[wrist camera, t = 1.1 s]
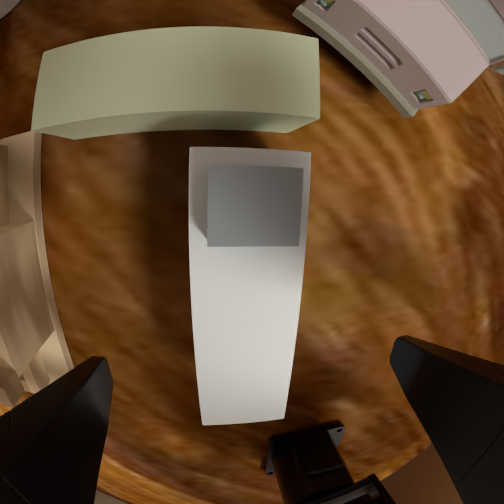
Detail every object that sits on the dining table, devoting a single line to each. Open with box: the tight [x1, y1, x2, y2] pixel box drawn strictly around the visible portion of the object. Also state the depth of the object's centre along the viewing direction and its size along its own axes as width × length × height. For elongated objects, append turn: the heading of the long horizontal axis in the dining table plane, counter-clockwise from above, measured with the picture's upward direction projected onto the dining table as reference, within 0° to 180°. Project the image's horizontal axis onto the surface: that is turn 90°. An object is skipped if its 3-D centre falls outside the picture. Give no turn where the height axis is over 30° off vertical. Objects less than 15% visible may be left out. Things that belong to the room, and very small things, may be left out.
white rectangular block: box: [189, 147, 311, 425], centre depth 12 cm, size 12×4×6 cm, turn 178°
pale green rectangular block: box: [31, 26, 320, 140], centre depth 10 cm, size 4×11×4 cm, turn 88°
